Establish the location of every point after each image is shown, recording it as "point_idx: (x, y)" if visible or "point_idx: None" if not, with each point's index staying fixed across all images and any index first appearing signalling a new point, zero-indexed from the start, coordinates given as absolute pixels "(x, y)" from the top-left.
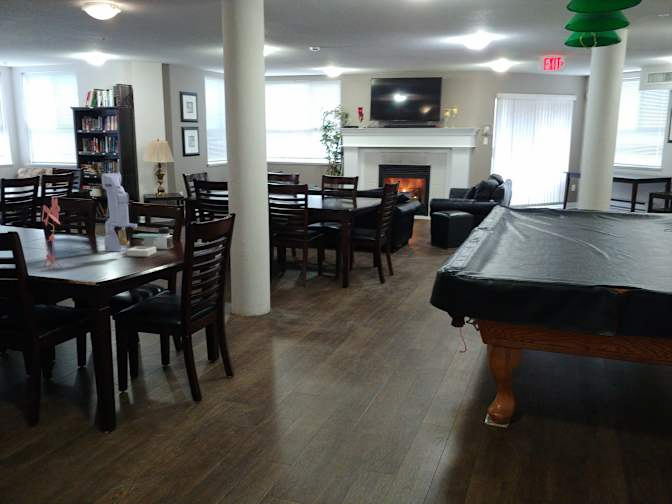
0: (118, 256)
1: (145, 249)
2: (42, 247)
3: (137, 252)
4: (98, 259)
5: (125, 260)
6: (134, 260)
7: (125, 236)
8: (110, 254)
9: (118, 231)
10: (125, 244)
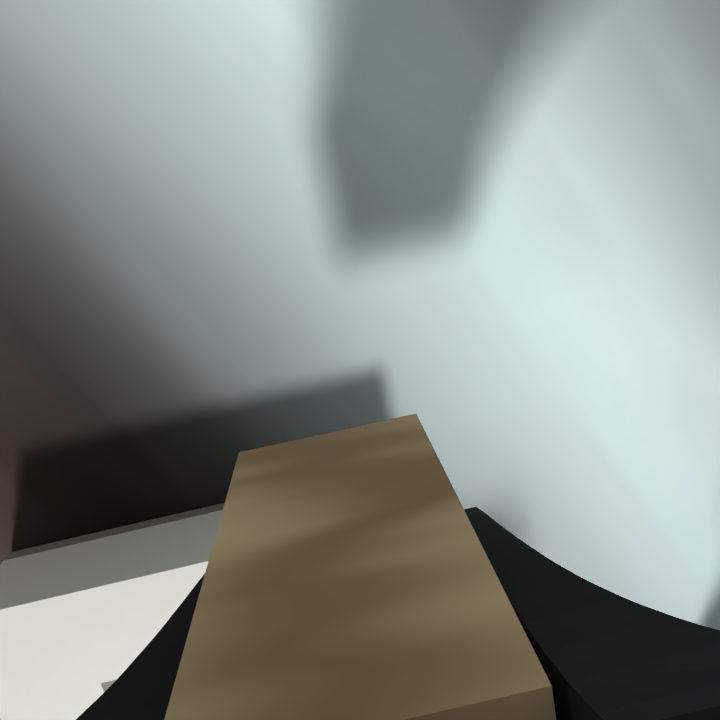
0: (466, 417)
1: (75, 686)
2: None
3: (160, 552)
4: (633, 95)
5: (147, 194)
6: (3, 252)
7: (210, 590)
8: (666, 488)
9: (527, 661)
10: (254, 459)
